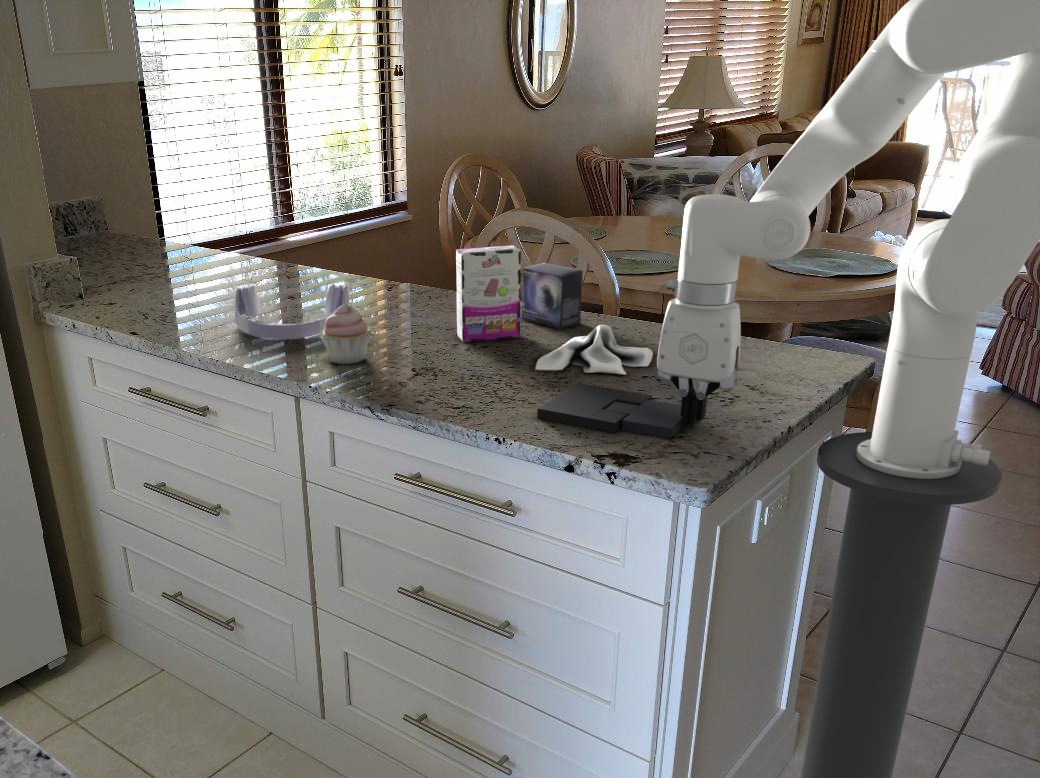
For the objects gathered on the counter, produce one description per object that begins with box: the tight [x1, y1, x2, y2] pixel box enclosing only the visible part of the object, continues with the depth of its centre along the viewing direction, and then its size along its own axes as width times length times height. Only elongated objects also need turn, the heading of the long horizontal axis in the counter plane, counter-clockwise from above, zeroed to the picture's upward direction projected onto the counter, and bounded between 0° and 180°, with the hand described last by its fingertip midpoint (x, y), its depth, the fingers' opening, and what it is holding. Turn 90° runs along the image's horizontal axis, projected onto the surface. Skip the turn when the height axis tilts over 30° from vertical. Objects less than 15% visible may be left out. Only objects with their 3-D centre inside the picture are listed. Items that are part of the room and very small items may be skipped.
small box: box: [520, 262, 584, 330], centre depth 192 cm, size 11×6×10 cm, turn 40°
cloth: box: [534, 324, 654, 376], centre depth 169 cm, size 22×19×6 cm
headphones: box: [233, 283, 350, 340], centre depth 195 cm, size 22×7×20 cm
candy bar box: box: [455, 245, 522, 343], centre depth 182 cm, size 11×5×16 cm, turn 101°
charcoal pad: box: [606, 400, 685, 439], centre depth 142 cm, size 11×10×2 cm
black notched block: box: [536, 382, 653, 434], centre depth 146 cm, size 12×14×2 cm
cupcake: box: [318, 304, 374, 365], centre depth 171 cm, size 9×9×10 cm
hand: (691, 422), depth 138 cm, fingers closed
